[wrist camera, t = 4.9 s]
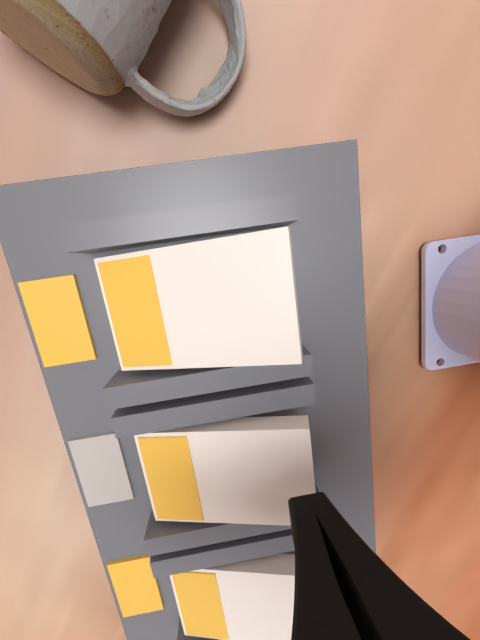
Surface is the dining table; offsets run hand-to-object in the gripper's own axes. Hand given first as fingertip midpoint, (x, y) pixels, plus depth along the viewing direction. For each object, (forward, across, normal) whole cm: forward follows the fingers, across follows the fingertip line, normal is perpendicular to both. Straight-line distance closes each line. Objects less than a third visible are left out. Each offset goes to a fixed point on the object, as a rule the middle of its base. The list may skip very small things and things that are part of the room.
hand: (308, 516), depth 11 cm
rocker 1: (+3, +3, -8) cm, 9 cm away
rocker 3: (+3, +3, +8) cm, 9 cm away
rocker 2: (+3, +3, 0) cm, 4 cm away
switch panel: (+8, +3, 0) cm, 8 cm away
